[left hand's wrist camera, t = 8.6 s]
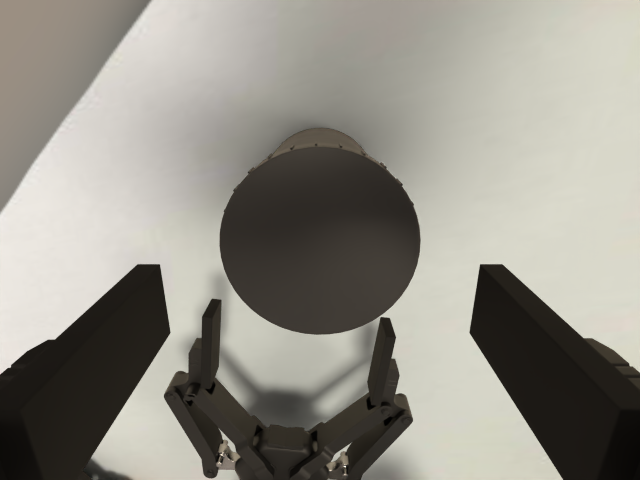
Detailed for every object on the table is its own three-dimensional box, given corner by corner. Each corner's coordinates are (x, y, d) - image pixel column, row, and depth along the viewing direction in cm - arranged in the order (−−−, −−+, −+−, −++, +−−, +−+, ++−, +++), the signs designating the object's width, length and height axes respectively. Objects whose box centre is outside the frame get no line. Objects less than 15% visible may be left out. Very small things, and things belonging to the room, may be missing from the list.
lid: (242, 325, 21) (236, 343, 20) (209, 151, 18) (198, 155, 17) (414, 311, 21) (422, 328, 20) (412, 131, 18) (421, 134, 16)
